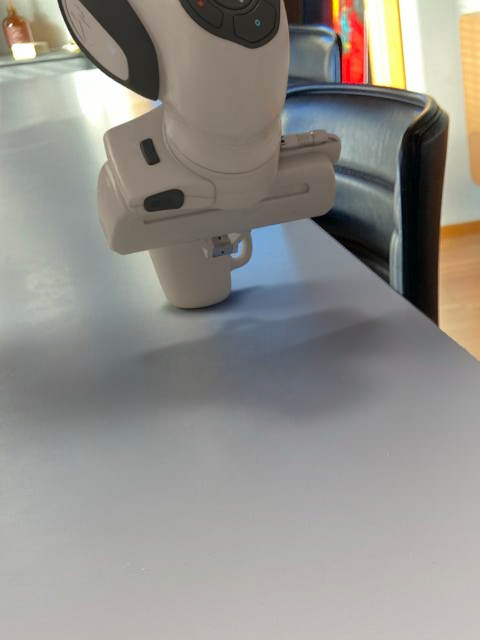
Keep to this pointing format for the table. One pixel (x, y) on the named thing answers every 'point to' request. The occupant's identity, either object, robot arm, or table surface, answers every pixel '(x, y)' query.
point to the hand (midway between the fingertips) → (219, 249)
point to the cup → (196, 273)
